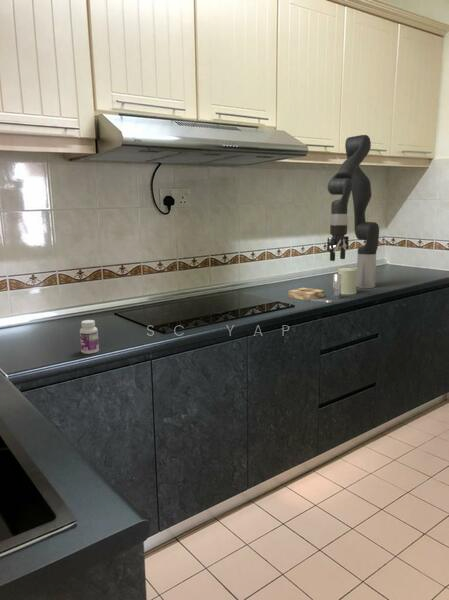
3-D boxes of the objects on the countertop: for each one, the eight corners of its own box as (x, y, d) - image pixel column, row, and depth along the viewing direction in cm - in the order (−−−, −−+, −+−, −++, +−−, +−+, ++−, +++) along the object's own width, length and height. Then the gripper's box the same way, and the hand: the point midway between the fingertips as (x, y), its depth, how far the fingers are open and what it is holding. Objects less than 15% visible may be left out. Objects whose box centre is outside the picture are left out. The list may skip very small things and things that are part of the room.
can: (357, 294, 231) (358, 269, 228) (337, 294, 232) (338, 269, 230) (356, 291, 239) (356, 267, 237) (336, 290, 241) (337, 267, 239)
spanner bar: (309, 300, 219) (309, 298, 219) (313, 299, 221) (313, 297, 221) (329, 303, 212) (329, 301, 212) (333, 302, 214) (333, 300, 214)
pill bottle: (77, 351, 150) (75, 321, 148) (92, 347, 154) (90, 318, 152) (87, 355, 146) (85, 324, 144) (102, 351, 150) (100, 320, 148)
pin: (335, 296, 227) (336, 273, 224) (342, 297, 224) (342, 274, 222) (331, 297, 224) (331, 274, 222) (337, 298, 222) (338, 275, 219)
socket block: (303, 293, 236) (303, 287, 235) (324, 296, 228) (324, 290, 227) (288, 297, 227) (288, 290, 227) (309, 300, 219) (309, 294, 219)
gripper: (340, 223, 225) (338, 258, 228) (322, 224, 215) (321, 260, 218) (354, 223, 220) (353, 259, 223) (337, 224, 210) (336, 262, 213)
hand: (337, 259), depth 221 cm, fingers open, 8 cm apart
